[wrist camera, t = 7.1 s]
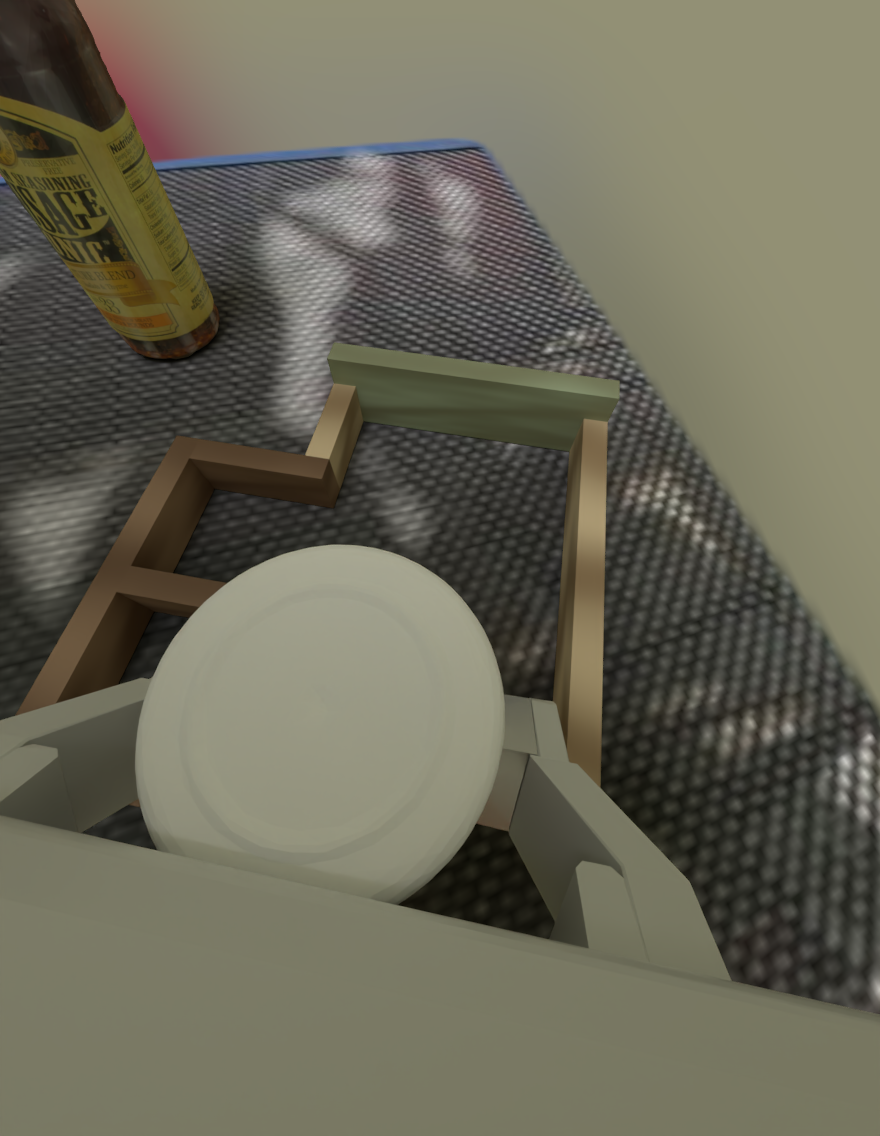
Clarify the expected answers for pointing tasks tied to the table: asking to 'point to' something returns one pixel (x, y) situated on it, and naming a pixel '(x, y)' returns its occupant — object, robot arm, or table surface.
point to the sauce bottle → (95, 182)
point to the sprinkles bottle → (324, 725)
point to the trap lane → (360, 393)
